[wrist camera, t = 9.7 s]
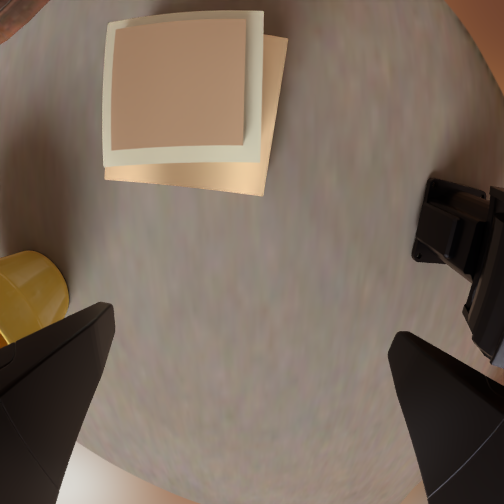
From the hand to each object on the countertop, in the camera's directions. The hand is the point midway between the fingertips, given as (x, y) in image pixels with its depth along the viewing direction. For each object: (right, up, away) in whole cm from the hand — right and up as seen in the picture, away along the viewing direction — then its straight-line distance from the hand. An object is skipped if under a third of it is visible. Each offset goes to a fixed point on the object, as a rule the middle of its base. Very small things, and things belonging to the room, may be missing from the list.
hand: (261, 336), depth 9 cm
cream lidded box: (-3, +10, +6) cm, 12 cm away
